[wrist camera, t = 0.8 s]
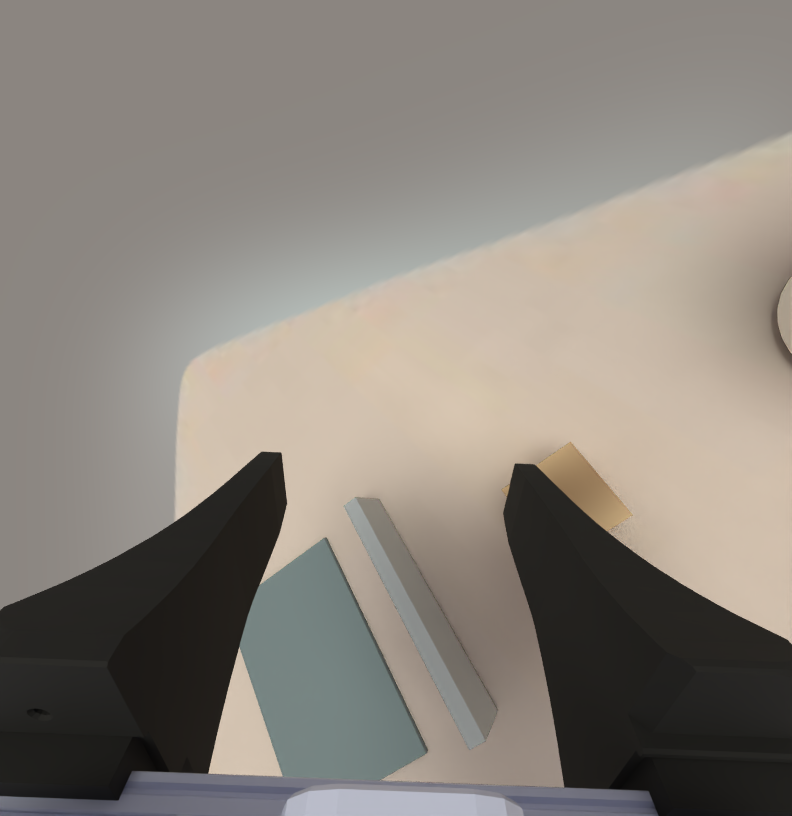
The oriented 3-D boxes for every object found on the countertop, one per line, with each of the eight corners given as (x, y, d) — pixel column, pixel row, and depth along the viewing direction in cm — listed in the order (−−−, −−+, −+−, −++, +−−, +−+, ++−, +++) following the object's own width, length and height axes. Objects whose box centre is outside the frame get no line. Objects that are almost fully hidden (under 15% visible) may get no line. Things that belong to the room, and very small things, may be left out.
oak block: (619, 515, 23) (632, 514, 18) (559, 553, 24) (554, 564, 18) (571, 457, 25) (570, 441, 19) (516, 495, 26) (501, 489, 20)
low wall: (497, 710, 23) (485, 741, 20) (483, 718, 23) (469, 750, 20) (379, 499, 29) (355, 497, 26) (368, 507, 29) (343, 505, 26)
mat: (427, 751, 24) (426, 753, 24) (302, 822, 26) (299, 826, 26) (326, 537, 30) (324, 538, 30) (229, 608, 32) (226, 609, 31)
